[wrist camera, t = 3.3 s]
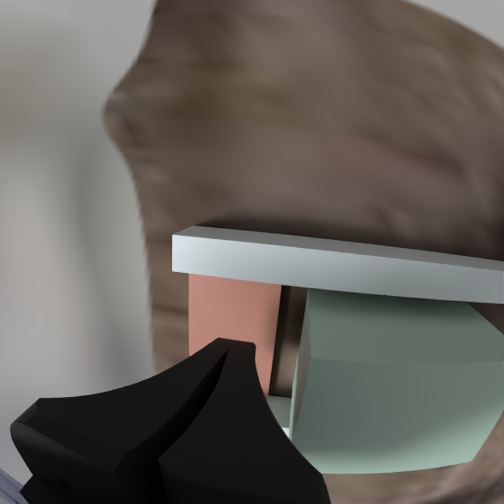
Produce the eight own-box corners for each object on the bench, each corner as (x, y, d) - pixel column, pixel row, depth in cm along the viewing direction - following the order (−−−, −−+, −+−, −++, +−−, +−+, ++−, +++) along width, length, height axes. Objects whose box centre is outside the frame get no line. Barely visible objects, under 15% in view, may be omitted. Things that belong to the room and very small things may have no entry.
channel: (460, 416, 12) (473, 440, 10) (193, 401, 14) (179, 427, 12) (517, 263, 10) (542, 276, 8) (193, 225, 12) (172, 234, 10)
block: (435, 388, 12) (471, 461, 7) (292, 383, 13) (285, 470, 8) (465, 301, 11) (528, 358, 6) (308, 287, 12) (310, 357, 7)
